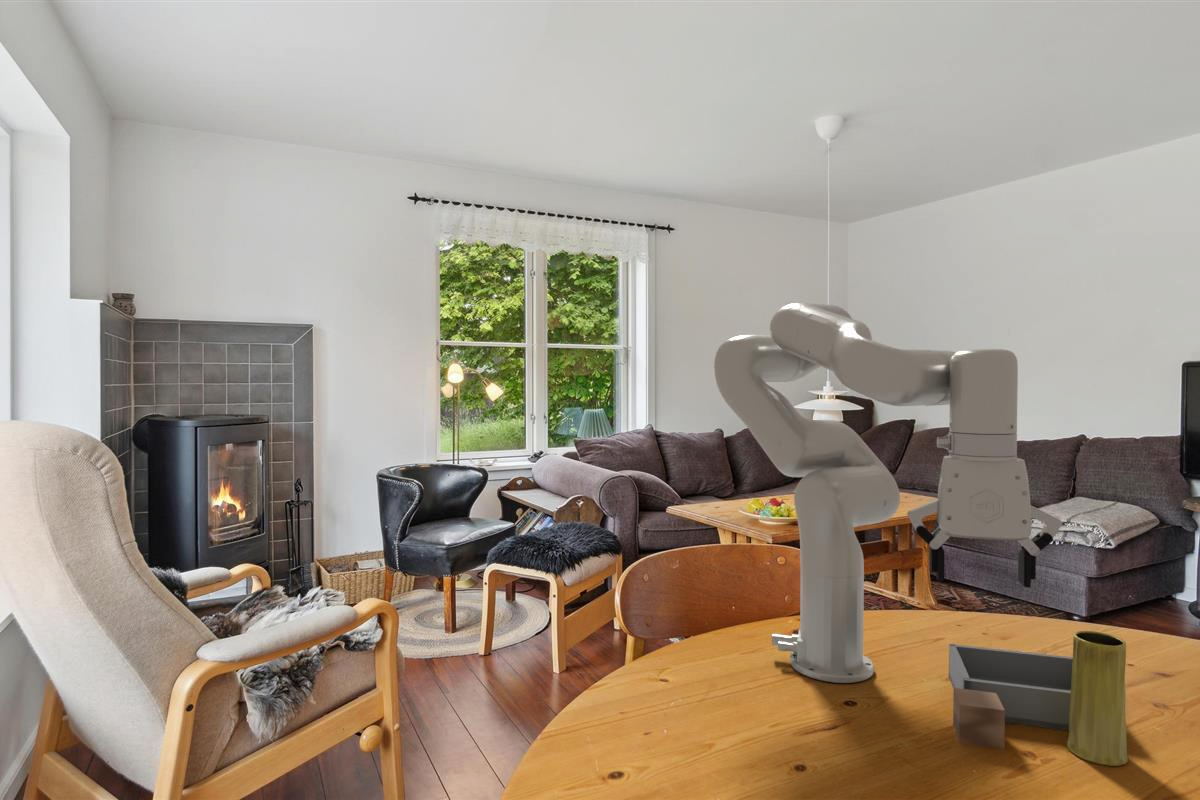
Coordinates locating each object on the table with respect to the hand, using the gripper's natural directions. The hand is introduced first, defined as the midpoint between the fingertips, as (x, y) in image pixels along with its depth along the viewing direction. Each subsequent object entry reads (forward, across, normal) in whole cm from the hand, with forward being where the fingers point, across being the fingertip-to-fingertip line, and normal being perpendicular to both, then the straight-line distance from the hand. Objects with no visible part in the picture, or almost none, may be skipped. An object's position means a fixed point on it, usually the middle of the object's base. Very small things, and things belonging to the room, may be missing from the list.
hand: (981, 581), depth 89 cm
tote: (+20, +8, +12) cm, 25 cm away
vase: (+20, +13, 0) cm, 24 cm away
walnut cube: (+20, 0, 0) cm, 20 cm away
